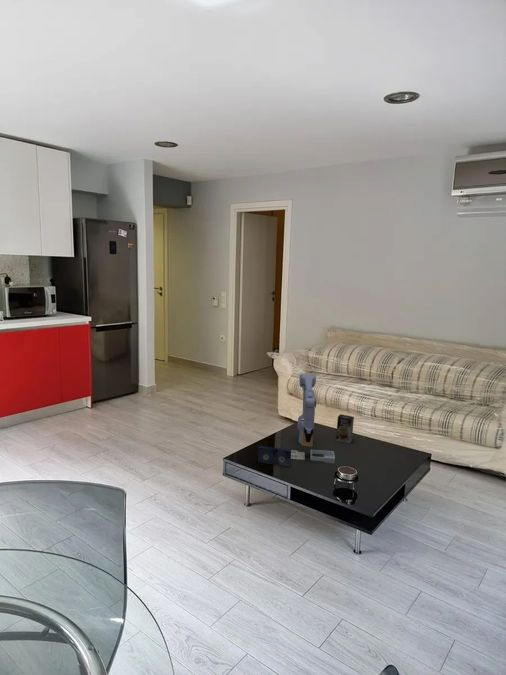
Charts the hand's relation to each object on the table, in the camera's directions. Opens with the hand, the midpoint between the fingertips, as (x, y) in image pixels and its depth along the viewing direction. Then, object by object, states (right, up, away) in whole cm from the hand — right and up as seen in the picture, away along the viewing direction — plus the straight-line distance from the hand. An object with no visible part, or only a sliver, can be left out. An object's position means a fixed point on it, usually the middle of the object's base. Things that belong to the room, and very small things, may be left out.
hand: (308, 440), depth 259 cm
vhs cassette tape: (-20, -12, -9) cm, 25 cm away
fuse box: (-11, -10, +3) cm, 15 cm away
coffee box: (+27, -7, +29) cm, 40 cm away
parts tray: (+8, -11, +1) cm, 13 cm away
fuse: (0, -3, 0) cm, 3 cm away
